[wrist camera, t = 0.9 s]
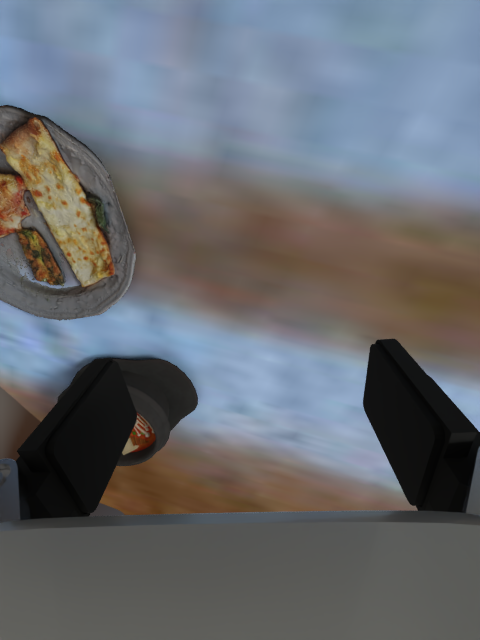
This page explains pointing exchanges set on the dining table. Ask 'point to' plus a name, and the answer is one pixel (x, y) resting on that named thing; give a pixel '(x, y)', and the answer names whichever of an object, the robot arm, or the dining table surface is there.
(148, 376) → the casserole
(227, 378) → the dining table surface
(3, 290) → the food plate
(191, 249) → the dining table surface
